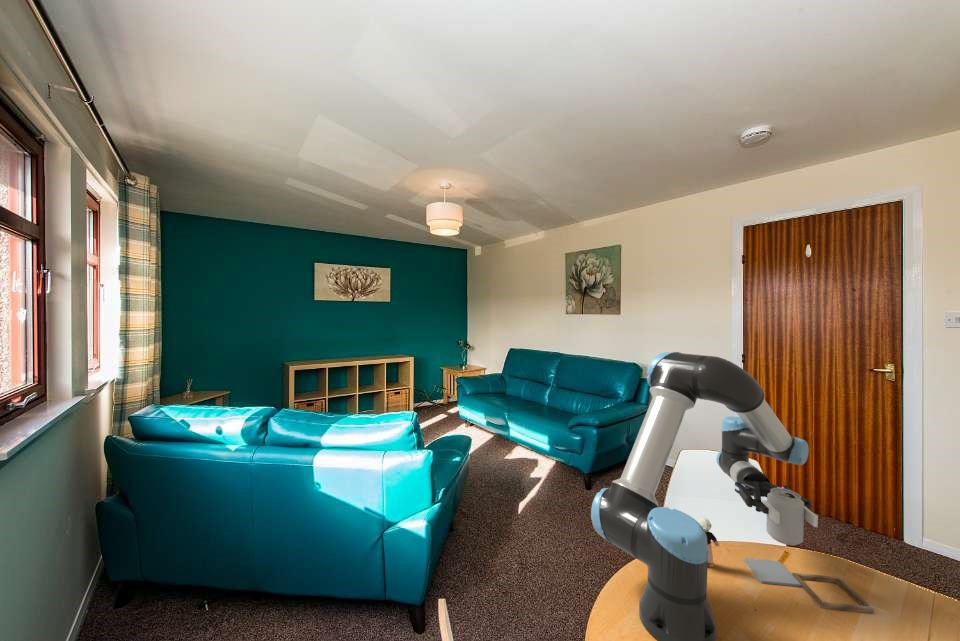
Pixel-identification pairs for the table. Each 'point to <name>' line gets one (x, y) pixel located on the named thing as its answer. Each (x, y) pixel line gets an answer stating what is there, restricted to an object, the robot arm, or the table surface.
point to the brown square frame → (829, 605)
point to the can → (786, 516)
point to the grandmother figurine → (708, 538)
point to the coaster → (771, 572)
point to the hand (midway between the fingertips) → (796, 520)
